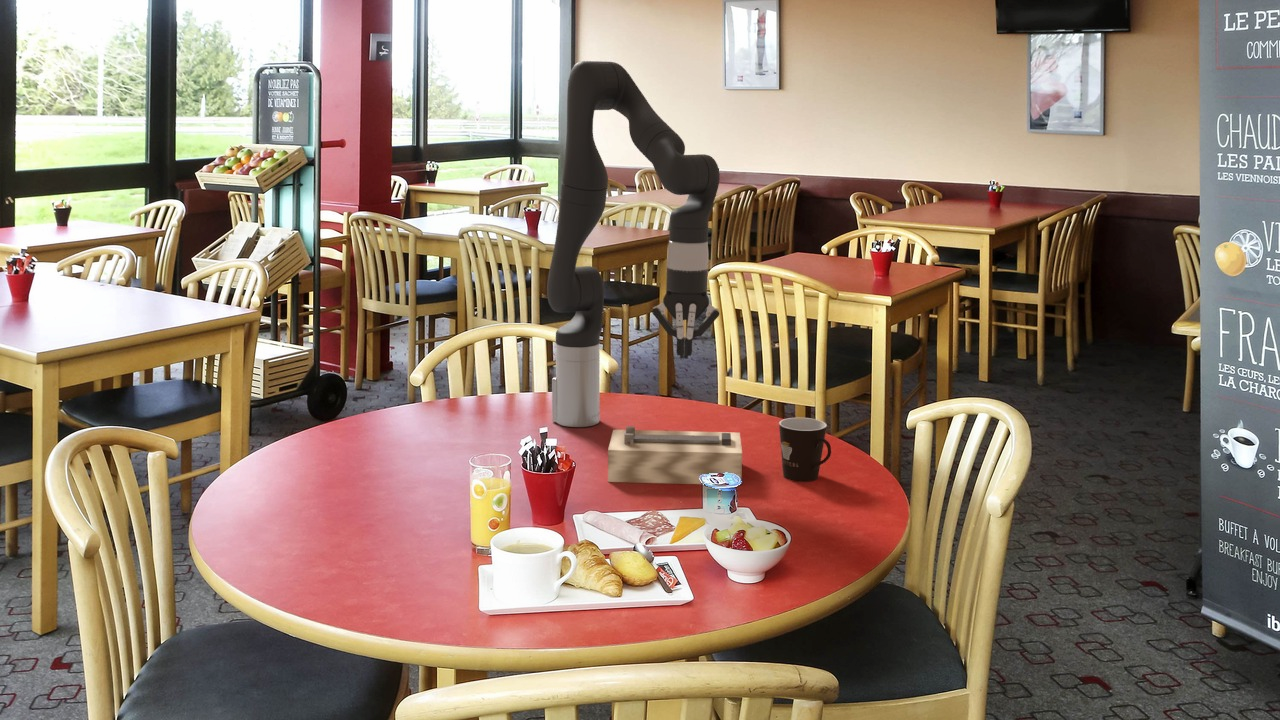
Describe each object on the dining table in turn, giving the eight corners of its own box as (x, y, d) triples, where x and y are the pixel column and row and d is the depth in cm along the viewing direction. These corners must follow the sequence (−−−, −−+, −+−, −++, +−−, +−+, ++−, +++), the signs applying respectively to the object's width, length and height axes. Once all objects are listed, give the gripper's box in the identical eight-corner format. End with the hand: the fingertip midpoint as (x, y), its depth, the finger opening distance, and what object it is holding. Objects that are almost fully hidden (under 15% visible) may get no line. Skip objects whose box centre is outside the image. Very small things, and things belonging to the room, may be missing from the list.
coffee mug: (772, 469, 216) (774, 417, 214) (818, 468, 217) (820, 417, 215) (785, 489, 205) (787, 435, 203) (833, 488, 206) (835, 435, 203)
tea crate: (607, 481, 208) (608, 440, 207) (613, 459, 221) (613, 420, 219) (741, 485, 207) (742, 443, 205) (738, 462, 220) (739, 423, 218)
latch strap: (631, 441, 212) (631, 438, 211) (632, 437, 214) (632, 434, 214) (719, 443, 211) (719, 440, 211) (719, 439, 214) (719, 435, 214)
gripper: (650, 267, 207) (647, 361, 211) (724, 270, 206) (719, 364, 210) (652, 261, 214) (649, 351, 218) (723, 263, 213) (719, 354, 218)
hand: (684, 357), depth 214 cm, fingers closed
